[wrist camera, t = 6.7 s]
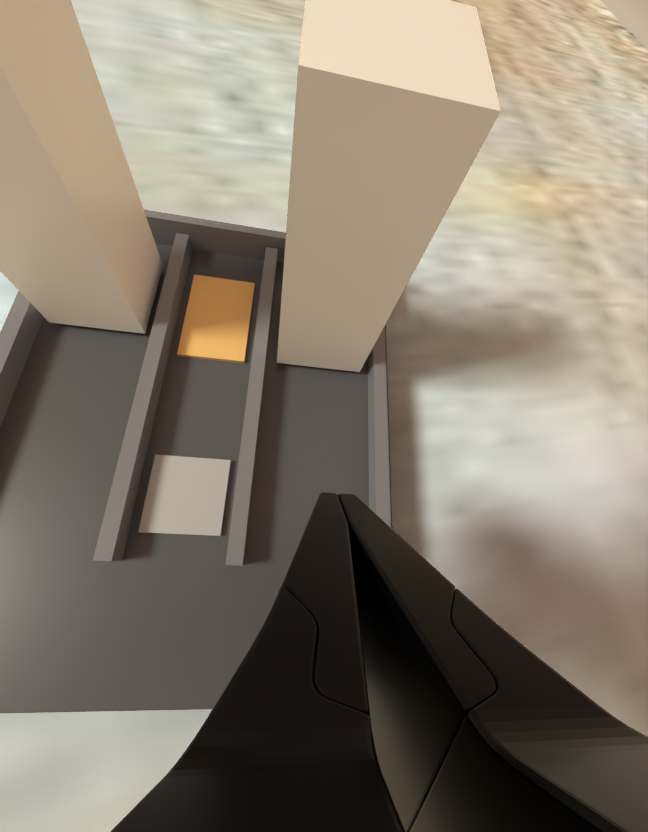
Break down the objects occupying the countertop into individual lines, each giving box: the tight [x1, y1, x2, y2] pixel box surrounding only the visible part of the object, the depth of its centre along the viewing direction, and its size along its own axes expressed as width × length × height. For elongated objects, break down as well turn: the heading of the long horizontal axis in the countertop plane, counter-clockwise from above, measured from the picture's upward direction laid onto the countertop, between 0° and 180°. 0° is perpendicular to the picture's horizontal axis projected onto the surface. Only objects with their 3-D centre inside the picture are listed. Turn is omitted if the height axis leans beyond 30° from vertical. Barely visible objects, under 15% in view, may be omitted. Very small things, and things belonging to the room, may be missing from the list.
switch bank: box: [0, 210, 392, 713], centre depth 15 cm, size 20×17×3 cm
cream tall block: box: [277, 0, 500, 372], centre depth 12 cm, size 4×4×11 cm
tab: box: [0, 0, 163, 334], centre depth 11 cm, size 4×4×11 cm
